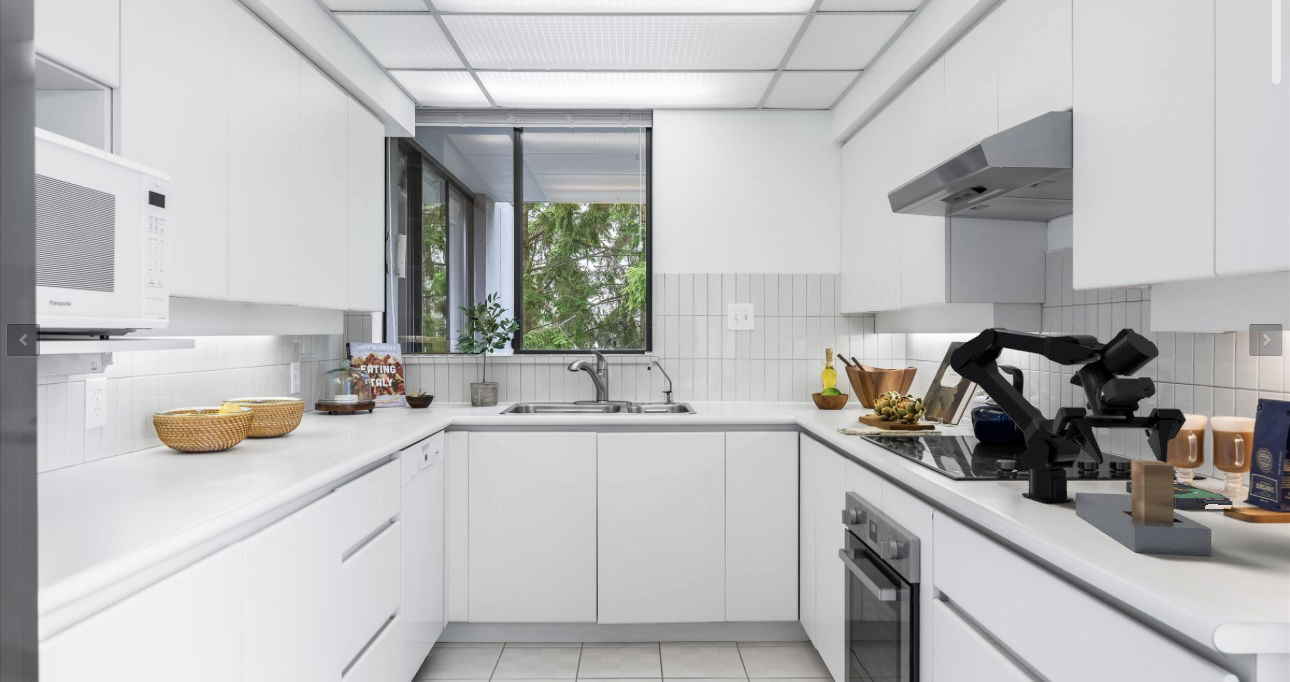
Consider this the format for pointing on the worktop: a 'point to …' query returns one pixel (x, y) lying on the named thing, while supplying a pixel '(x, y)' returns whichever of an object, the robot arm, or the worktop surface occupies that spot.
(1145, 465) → the walnut peg
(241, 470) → the worktop surface
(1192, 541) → the block
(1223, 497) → the disk drive
